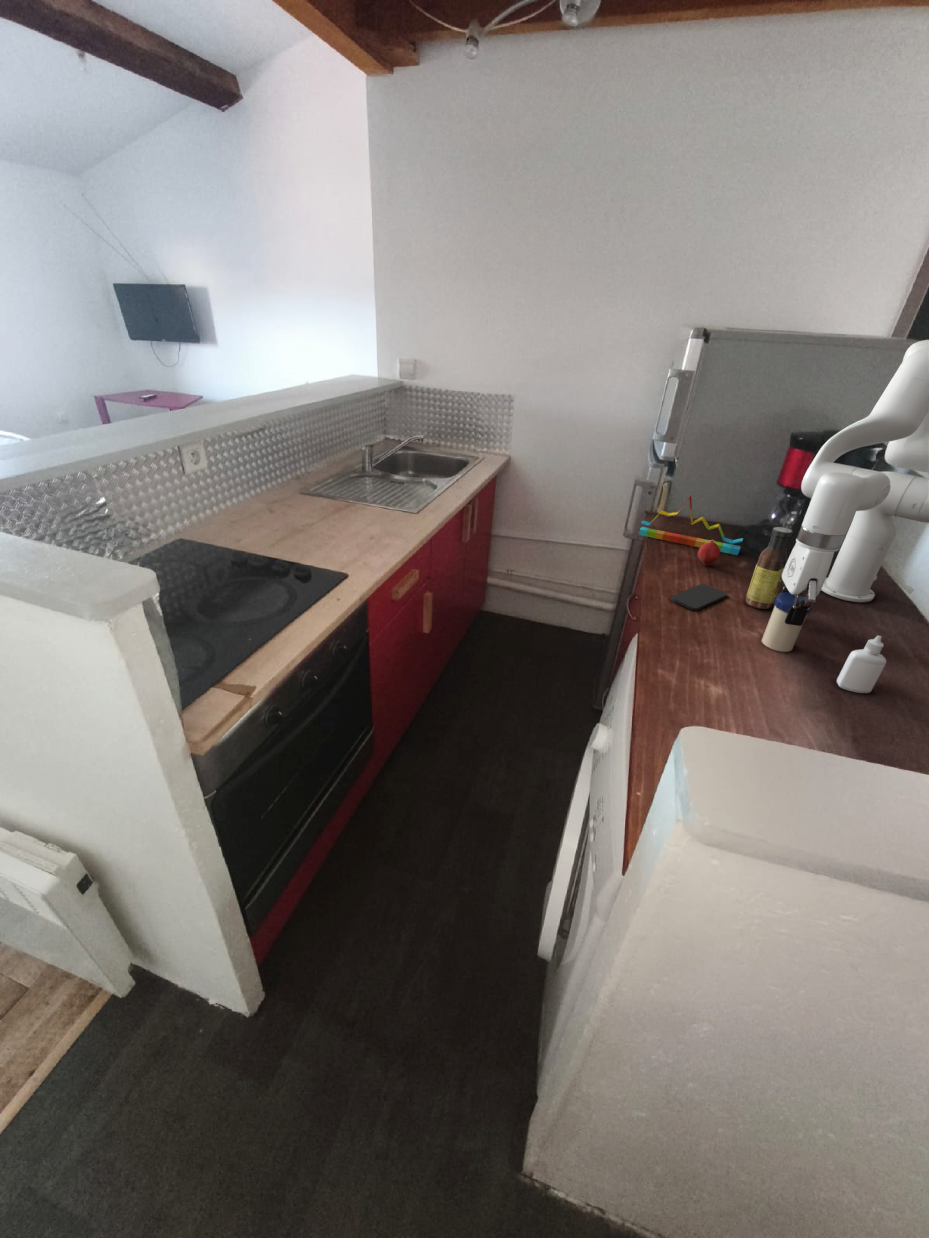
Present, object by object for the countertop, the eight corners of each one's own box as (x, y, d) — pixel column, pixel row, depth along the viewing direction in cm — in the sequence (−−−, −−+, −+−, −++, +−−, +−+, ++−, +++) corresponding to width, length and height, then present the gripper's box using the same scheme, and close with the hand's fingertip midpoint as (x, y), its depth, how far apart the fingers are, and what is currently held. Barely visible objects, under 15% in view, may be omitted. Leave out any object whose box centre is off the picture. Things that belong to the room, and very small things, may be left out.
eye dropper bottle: (866, 699, 97) (894, 647, 91) (833, 685, 101) (858, 634, 95) (872, 689, 100) (900, 638, 94) (839, 676, 103) (864, 626, 97)
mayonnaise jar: (772, 634, 117) (788, 593, 112) (798, 647, 112) (816, 605, 107) (755, 640, 115) (771, 599, 109) (781, 654, 110) (799, 612, 104)
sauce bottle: (774, 611, 126) (803, 536, 116) (747, 608, 127) (774, 533, 117) (766, 599, 132) (793, 526, 122) (741, 596, 133) (765, 524, 123)
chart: (738, 551, 159) (753, 505, 151) (737, 555, 157) (753, 508, 149) (640, 532, 172) (650, 488, 164) (638, 534, 170) (647, 490, 162)
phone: (729, 593, 132) (696, 609, 124) (728, 596, 133) (695, 612, 125) (703, 583, 137) (669, 597, 129) (702, 585, 138) (669, 600, 130)
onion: (692, 560, 152) (699, 535, 148) (713, 561, 152) (720, 536, 148) (697, 568, 148) (705, 542, 143) (718, 570, 147) (726, 544, 143)
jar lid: (792, 617, 105) (795, 609, 104) (766, 601, 111) (769, 594, 110) (818, 613, 107) (821, 605, 106) (791, 598, 112) (794, 590, 111)
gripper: (788, 521, 109) (761, 595, 118) (810, 551, 94) (778, 633, 104) (828, 525, 107) (797, 600, 116) (856, 557, 93) (819, 639, 102)
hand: (788, 615), depth 110 cm, fingers closed on jar lid, 6 cm apart
